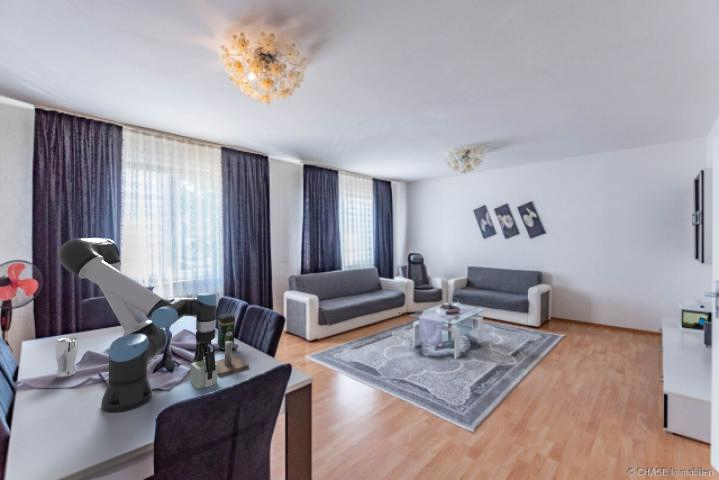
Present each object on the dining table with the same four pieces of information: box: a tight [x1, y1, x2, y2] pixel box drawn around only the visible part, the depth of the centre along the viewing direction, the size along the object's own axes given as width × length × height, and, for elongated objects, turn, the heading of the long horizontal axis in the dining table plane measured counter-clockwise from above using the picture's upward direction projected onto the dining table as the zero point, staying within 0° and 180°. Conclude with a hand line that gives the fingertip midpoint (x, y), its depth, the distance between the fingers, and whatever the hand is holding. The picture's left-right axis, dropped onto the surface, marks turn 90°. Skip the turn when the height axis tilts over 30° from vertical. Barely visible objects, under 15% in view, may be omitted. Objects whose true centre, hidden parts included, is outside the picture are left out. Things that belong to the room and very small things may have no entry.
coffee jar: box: [217, 312, 236, 348], centre depth 174 cm, size 10×8×19 cm
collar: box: [189, 359, 218, 390], centre depth 134 cm, size 8×8×8 cm
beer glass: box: [55, 336, 79, 379], centre depth 135 cm, size 7×7×15 cm
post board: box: [215, 341, 250, 378], centre depth 150 cm, size 14×14×12 cm
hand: (203, 381), depth 134 cm, fingers open, 9 cm apart
